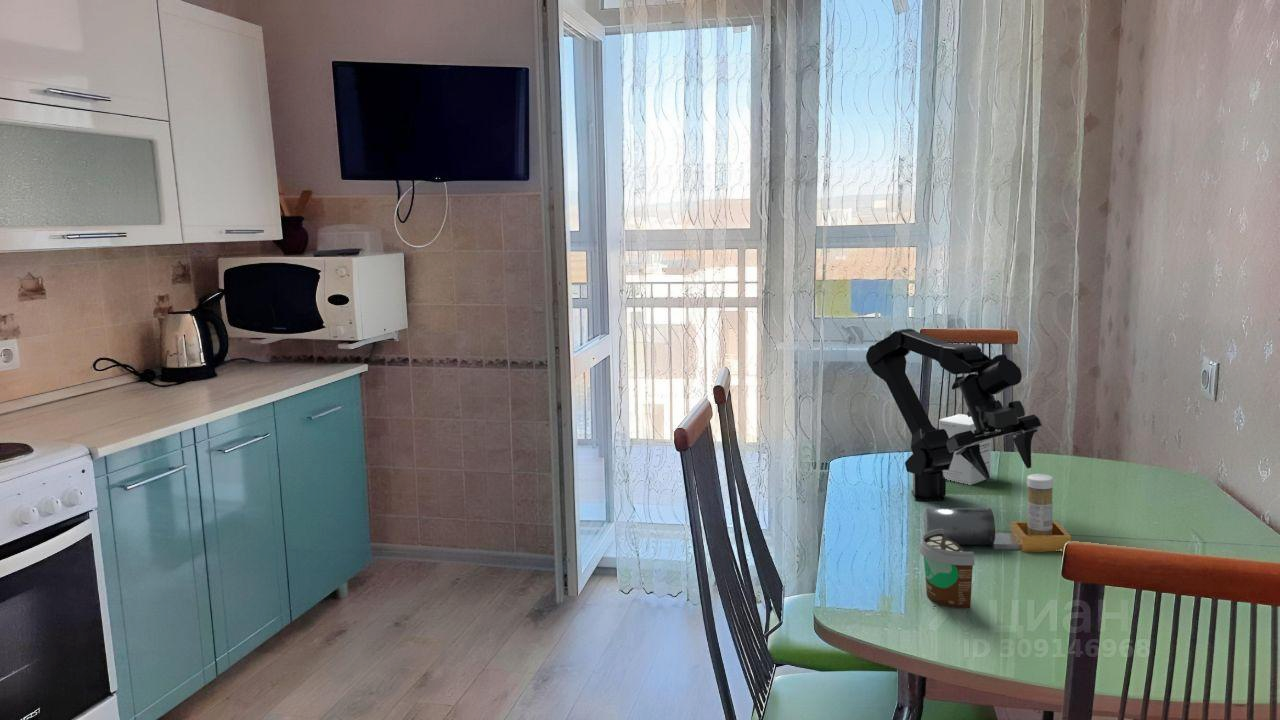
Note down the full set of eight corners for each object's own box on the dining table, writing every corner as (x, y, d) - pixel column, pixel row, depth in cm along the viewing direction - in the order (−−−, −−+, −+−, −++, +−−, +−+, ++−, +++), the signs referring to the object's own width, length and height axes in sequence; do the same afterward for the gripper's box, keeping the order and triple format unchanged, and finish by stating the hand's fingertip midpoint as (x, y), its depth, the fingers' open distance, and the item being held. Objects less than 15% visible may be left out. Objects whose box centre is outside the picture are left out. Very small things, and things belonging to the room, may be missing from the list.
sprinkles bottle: (1043, 538, 170) (1044, 472, 168) (1057, 546, 166) (1058, 478, 164) (1021, 540, 170) (1022, 474, 168) (1034, 548, 165) (1035, 480, 163)
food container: (907, 585, 152) (907, 530, 150) (941, 582, 152) (941, 527, 151) (937, 615, 140) (937, 556, 138) (974, 612, 140) (974, 552, 139)
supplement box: (937, 478, 213) (937, 419, 211) (958, 471, 219) (958, 413, 216) (970, 486, 206) (970, 424, 204) (991, 478, 211) (992, 418, 209)
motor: (930, 551, 167) (930, 516, 166) (923, 535, 175) (923, 502, 174) (1070, 552, 163) (1071, 516, 162) (1056, 536, 171) (1057, 501, 170)
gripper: (954, 401, 173) (983, 476, 168) (1039, 380, 175) (1070, 453, 171) (934, 416, 184) (960, 487, 179) (1014, 396, 186) (1043, 465, 181)
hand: (1008, 473), depth 177 cm, fingers open, 9 cm apart
